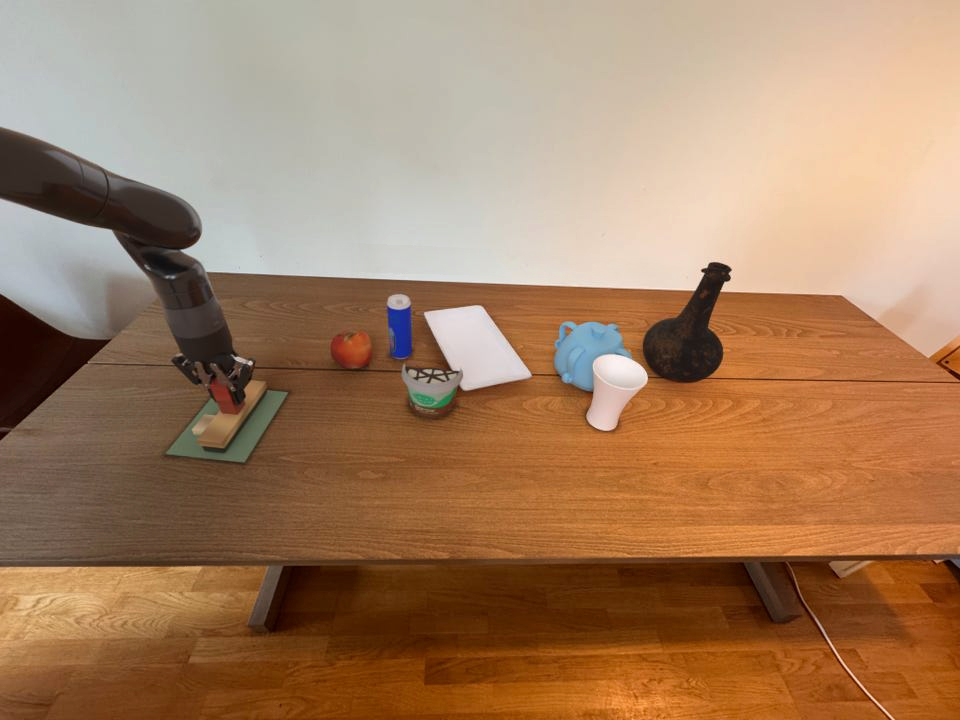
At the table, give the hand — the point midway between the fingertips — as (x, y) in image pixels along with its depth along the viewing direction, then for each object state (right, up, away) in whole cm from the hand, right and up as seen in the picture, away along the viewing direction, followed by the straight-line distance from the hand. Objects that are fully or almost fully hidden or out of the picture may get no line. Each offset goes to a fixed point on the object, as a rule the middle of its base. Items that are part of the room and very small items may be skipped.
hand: (230, 400), depth 77 cm
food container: (+36, -3, +10) cm, 37 cm away
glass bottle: (+94, +5, +27) cm, 98 cm away
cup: (+72, -5, +12) cm, 73 cm away
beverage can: (+27, +9, +24) cm, 37 cm away
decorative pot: (+71, +4, +23) cm, 75 cm away
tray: (+44, +9, +27) cm, 52 cm away
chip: (-4, -5, +1) cm, 7 cm away
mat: (-2, -4, +4) cm, 6 cm away
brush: (0, -4, +3) cm, 5 cm away
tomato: (+17, +7, +20) cm, 27 cm away
